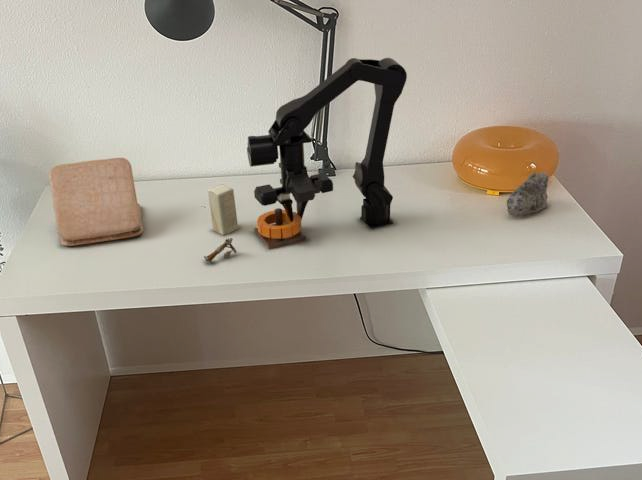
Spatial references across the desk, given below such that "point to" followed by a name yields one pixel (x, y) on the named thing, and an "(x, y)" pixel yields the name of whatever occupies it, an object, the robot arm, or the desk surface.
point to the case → (95, 201)
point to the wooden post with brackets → (219, 249)
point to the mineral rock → (529, 195)
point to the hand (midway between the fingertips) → (295, 221)
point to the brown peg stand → (283, 241)
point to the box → (223, 209)
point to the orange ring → (278, 231)
